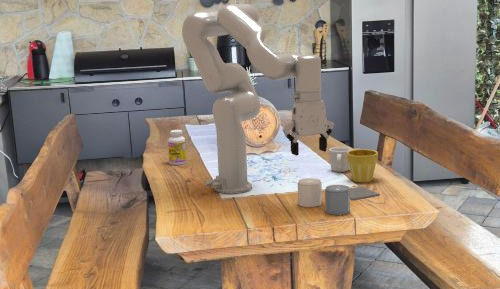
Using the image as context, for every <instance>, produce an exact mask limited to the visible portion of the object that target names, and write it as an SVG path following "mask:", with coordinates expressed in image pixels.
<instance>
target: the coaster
mask: <svg viewBox="0 0 500 289" xmlns="http://www.w3.org/2000/svg"><path fill="white" fill-rule="evenodd" d="M349 189H350V201H357V200H361V199H362V200H363V199H367V198H374V197H378V196H380V193H378V192H375V191H373V190H371V189H369V188H366V187H363V186H357V187H351V188H349Z"/></svg>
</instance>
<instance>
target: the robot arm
mask: <svg viewBox="0 0 500 289" xmlns="http://www.w3.org/2000/svg"><path fill="white" fill-rule="evenodd" d="M181 35H182V40H183V43H184V45H185V47H186V49H187V51H188V52H189V55H190V56H191V58H192V59H193V61H194V64H195V67H196V68H197V71H198V73H199V75H200V78H201V79H202V82H203V84H204V86H205V88H206V90H207V91H208V92H209V93H210V94H213V95H219V94H223V93H224V94H225V93H230V94H226V95H223V96H220V97H219V98H217V99H215V101H214V103H213V106H212V117H213V121H214V125H215V132H216V146H217V169H218V172H217V173H218V175H216V176H215V178H214V179H212V180H211V179H210V180H205V181H204V185H205V187H212V188H214V190H215V191H216V192H217V193H220V194H230V195H231V194H243V193H246V192H249V191H251V190H252V189H253V184H252V183H251V182H249V181H248V163H247V162H248V160H247V138H246V133H245V129H244V127H243V125H242V122H245V121H248V120H252V119H254V118H256V117H257V116H258V115H259V113H260V110H261V103H260V99H259V96H258V94H257V92H256V89H255V87H254V85H253V83H252V80H251V78H250V76H249V75H248V74H249V73H248V72H247V71H246V69H245V68H244V66H242V65H241V64H239V63H238V62H224V60H223V59H222V57H221V55H220V53H219V50H218V48H216V46H215V45H214V44H213V43H212V42H211V41H209V39H208V37H209V38H211V37H222V36H227V35H229V36H231V38H233V39H234V40H235V41H236V42H238V44H240V45H241V46H242V47H243V48H244V49H246V55H247V58H248V60H249V62H250V63H251V65H252V66H253V67H254V68H255V69H256V70H257V71H258V72H259V73H261V74H262V75H263V76H264V77H265V78H267V79H269V80H270V81H281V80H286V79H292V78H295V91H294V94H292V95H291V97H292V99H294V100H295V101H293V106H292V114H291V122H289V123H288V124H287V125H285V126H284V127H282V132H283V134H284V136H285V137H286V139H288V141H289V142H290V152H291V154H292V155H294V156H295V157H297V156H299V153H300V152H299V150H300V146H299V145H300V144H299V142H298V141H299V139H300V137H307V136H315V135H317V136H318V135H320V136H319V137H318V150H319V151H320V152H321V151H322V152H327V147H328V138H330V137H329V136H330V135H331V133H332V132H333V129H334V126H335V122H333V121H331V120H328V119H327V118H328V117H327V109H326V105H325V101H324V99H322V61H321V60H322V59H321V56H319V55H318V54H311V53H310V54H302V53H298V52H287V53H285V52H283V53H279V54H275V53H273V52H272V51H271V50H269V49H268V47H267V46H265V44H263V43H264V42H265V40H266V36H267V31H266V29H265V27H264V26H263V25H261V24H260V23H259V14H258V11H257V9H256V8H255V6H253V5H251V4H249V3H232V4H226V5H224V6H222V7H221V8H220V9H216V10H214V9H213V10H201V11H195V12H192V13H190V14H188V15H187V16H186V17H185V18H184V21H183V23H182V27H181ZM290 130H291V131H290ZM290 132H291V133H290Z"/></svg>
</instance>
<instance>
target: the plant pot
mask: <svg viewBox="0 0 500 289" xmlns="http://www.w3.org/2000/svg"><path fill="white" fill-rule="evenodd" d="M347 162H348V163H349V165H350V168H349V170H350V173H351V178H352V181H353V182H356V183H361V184H362V183H369V182H372V181H373V178H374V174H375V169H376V165H377V163H378V162H379V152H378V151H377V150H375V149H369V148H368V149H367V148H358V149H357V148H356V149H351V151H348V152H347Z"/></svg>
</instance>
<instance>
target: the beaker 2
mask: <svg viewBox="0 0 500 289" xmlns="http://www.w3.org/2000/svg"><path fill="white" fill-rule="evenodd" d="M350 189H351V188H350V187H349V186H348V185H346V184H345V185H344V184H331V185H327V186H326V187H325V190H324V198H325V199H324V200H325V201H324V211H325V213H327V214H328V215H332V216H333V215H334V216H343V215H349V213H350V211H351V199H350Z"/></svg>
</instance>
